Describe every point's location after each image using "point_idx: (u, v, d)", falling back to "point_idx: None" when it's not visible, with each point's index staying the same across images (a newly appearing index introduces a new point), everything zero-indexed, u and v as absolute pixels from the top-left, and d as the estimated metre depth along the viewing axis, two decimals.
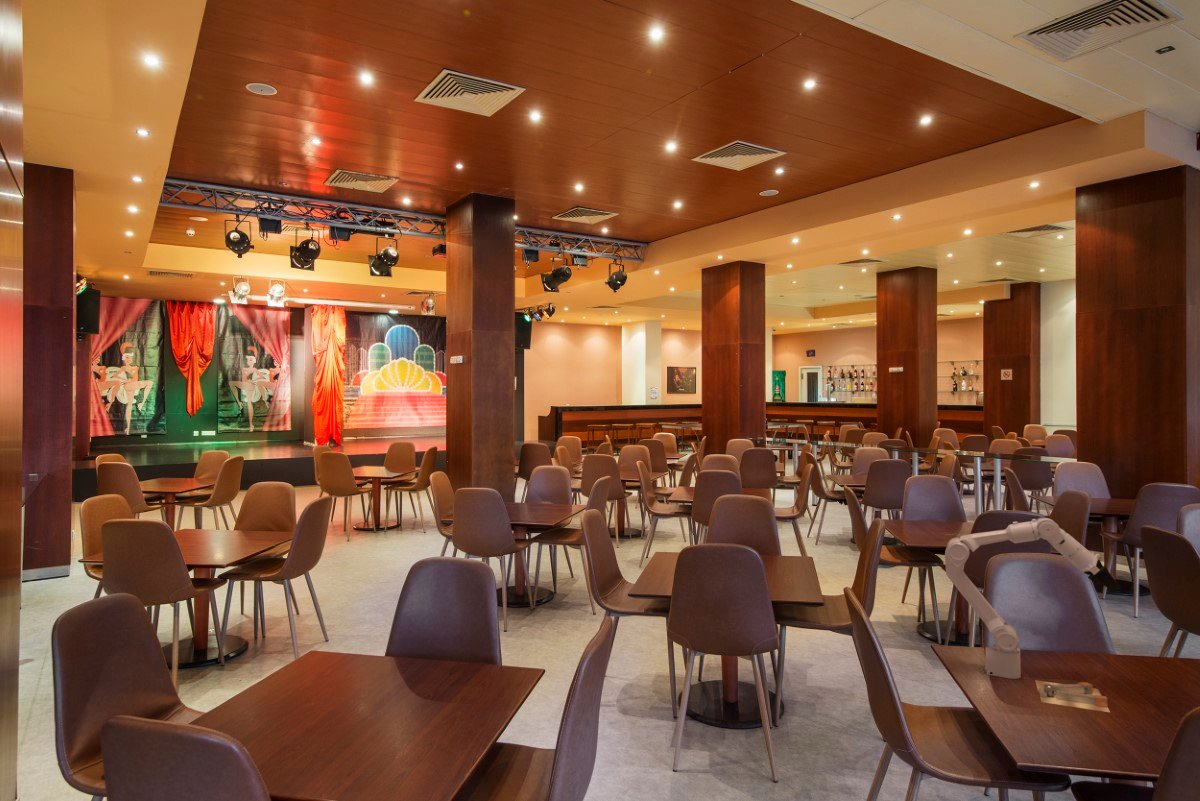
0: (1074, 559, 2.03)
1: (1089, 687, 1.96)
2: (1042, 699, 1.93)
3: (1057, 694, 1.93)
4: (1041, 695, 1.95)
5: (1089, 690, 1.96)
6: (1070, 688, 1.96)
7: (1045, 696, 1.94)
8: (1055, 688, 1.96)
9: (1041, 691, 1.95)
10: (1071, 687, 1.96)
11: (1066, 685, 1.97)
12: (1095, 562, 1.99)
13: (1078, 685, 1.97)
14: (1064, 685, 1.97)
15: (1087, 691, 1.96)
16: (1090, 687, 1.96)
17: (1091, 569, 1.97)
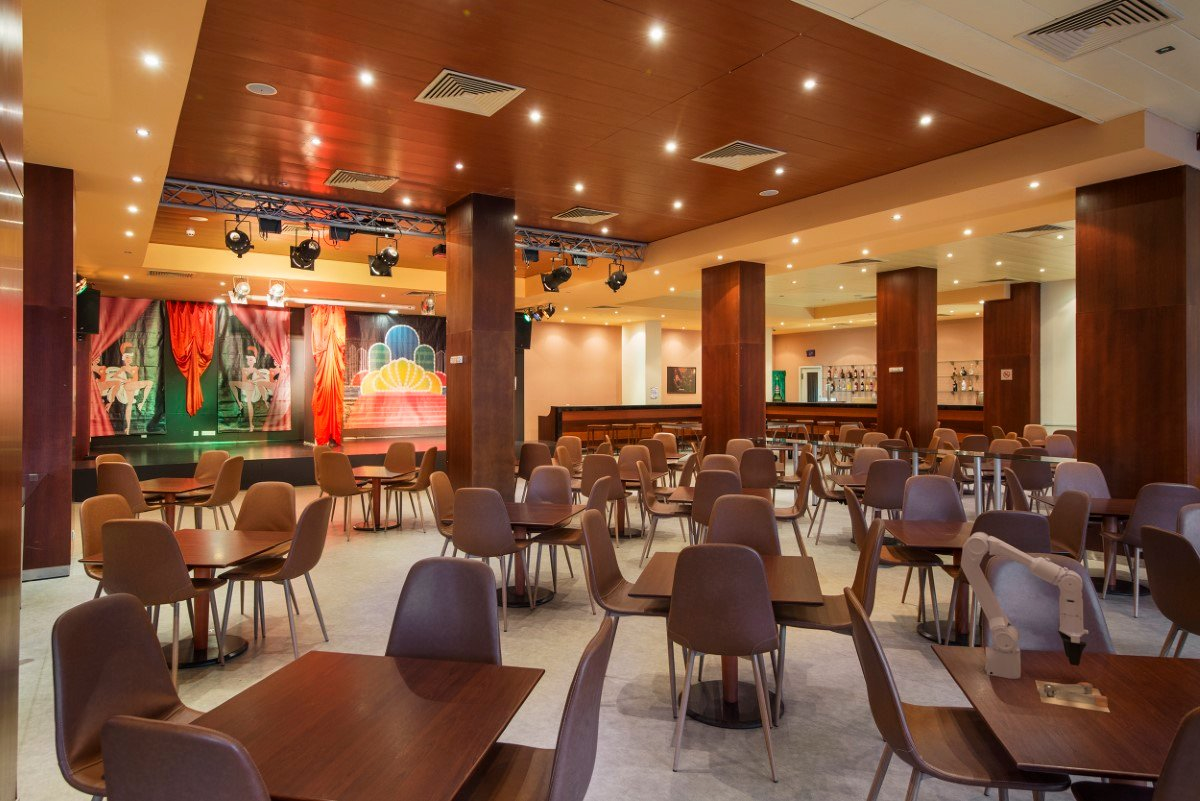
0: (1066, 619, 2.02)
1: (1089, 687, 1.96)
2: (1042, 699, 1.93)
3: (1057, 694, 1.93)
4: (1041, 695, 1.95)
5: (1089, 690, 1.96)
6: (1070, 688, 1.96)
7: (1045, 696, 1.94)
8: (1055, 688, 1.96)
9: (1041, 691, 1.95)
10: (1071, 687, 1.96)
11: (1066, 685, 1.97)
12: (1081, 635, 1.98)
13: (1078, 685, 1.97)
14: (1064, 685, 1.97)
15: (1087, 691, 1.96)
16: (1090, 687, 1.96)
17: (1073, 637, 1.97)
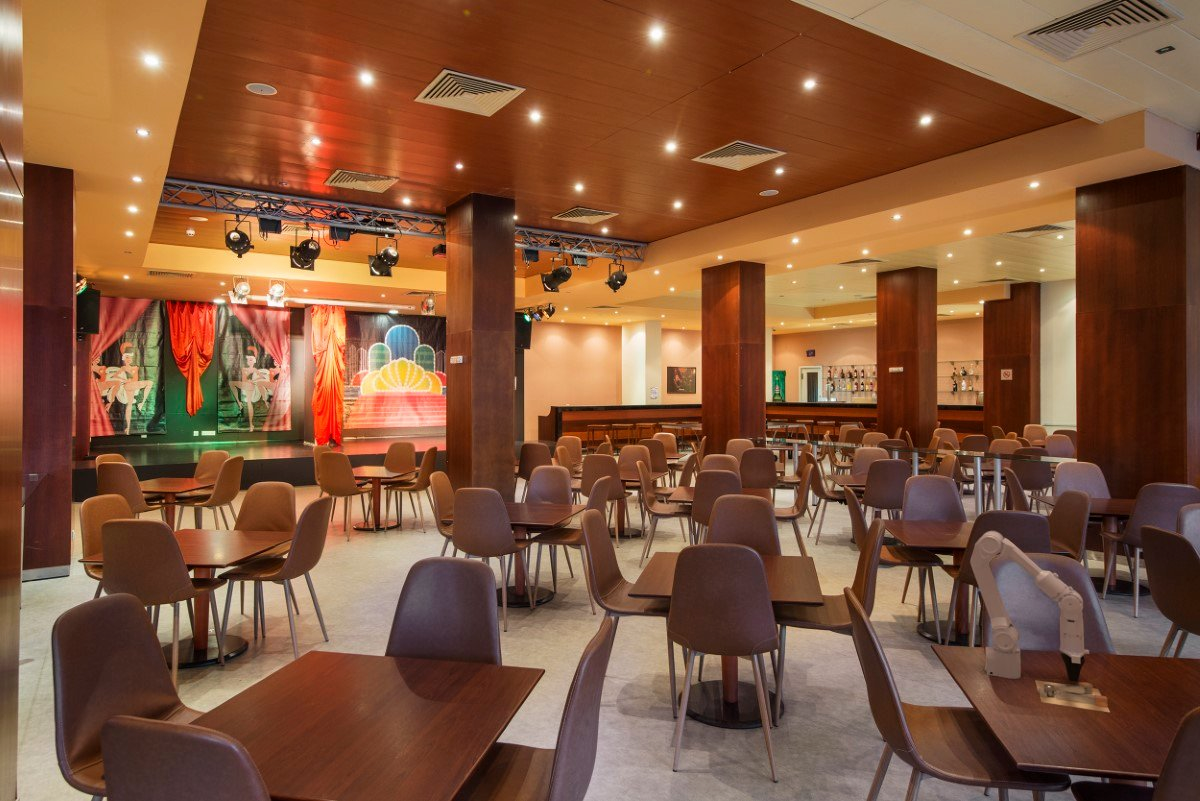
0: (1067, 639, 2.01)
1: (1089, 687, 1.96)
2: (1042, 699, 1.93)
3: (1057, 694, 1.93)
4: (1041, 695, 1.95)
5: (1089, 690, 1.96)
6: (1070, 688, 1.96)
7: (1045, 696, 1.94)
8: (1055, 688, 1.96)
9: (1041, 691, 1.95)
10: (1071, 687, 1.96)
11: (1066, 685, 1.97)
12: (1081, 655, 1.98)
13: (1078, 685, 1.97)
14: (1064, 685, 1.97)
15: (1087, 691, 1.96)
16: (1090, 687, 1.96)
17: (1074, 657, 1.96)
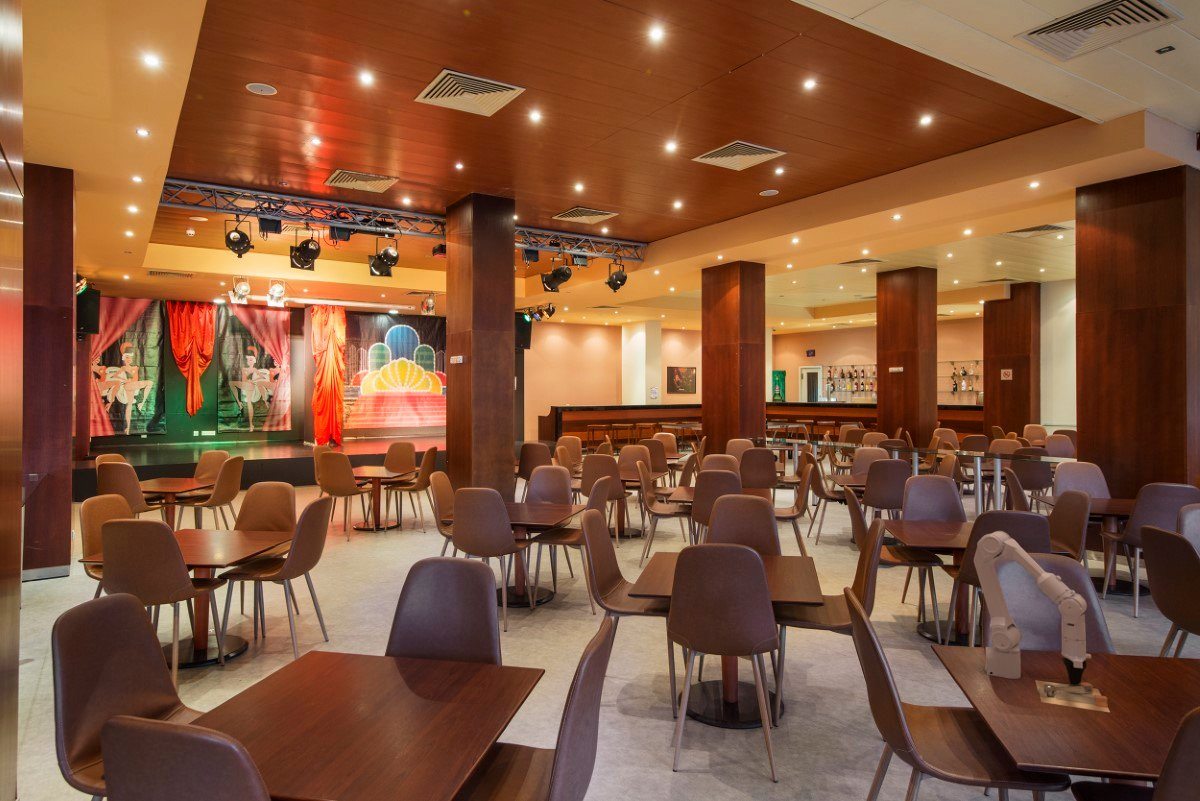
0: (1068, 643, 1.98)
1: (1089, 687, 1.96)
2: (1042, 699, 1.93)
3: (1057, 694, 1.93)
4: (1041, 695, 1.95)
5: (1090, 690, 1.96)
6: (1070, 688, 1.96)
7: (1045, 696, 1.94)
8: (1055, 688, 1.96)
9: (1041, 691, 1.95)
10: (1071, 687, 1.96)
11: (1066, 685, 1.97)
12: (1083, 659, 1.95)
13: (1078, 685, 1.97)
14: (1064, 685, 1.97)
15: (1087, 691, 1.96)
16: (1090, 687, 1.96)
17: (1076, 662, 1.93)
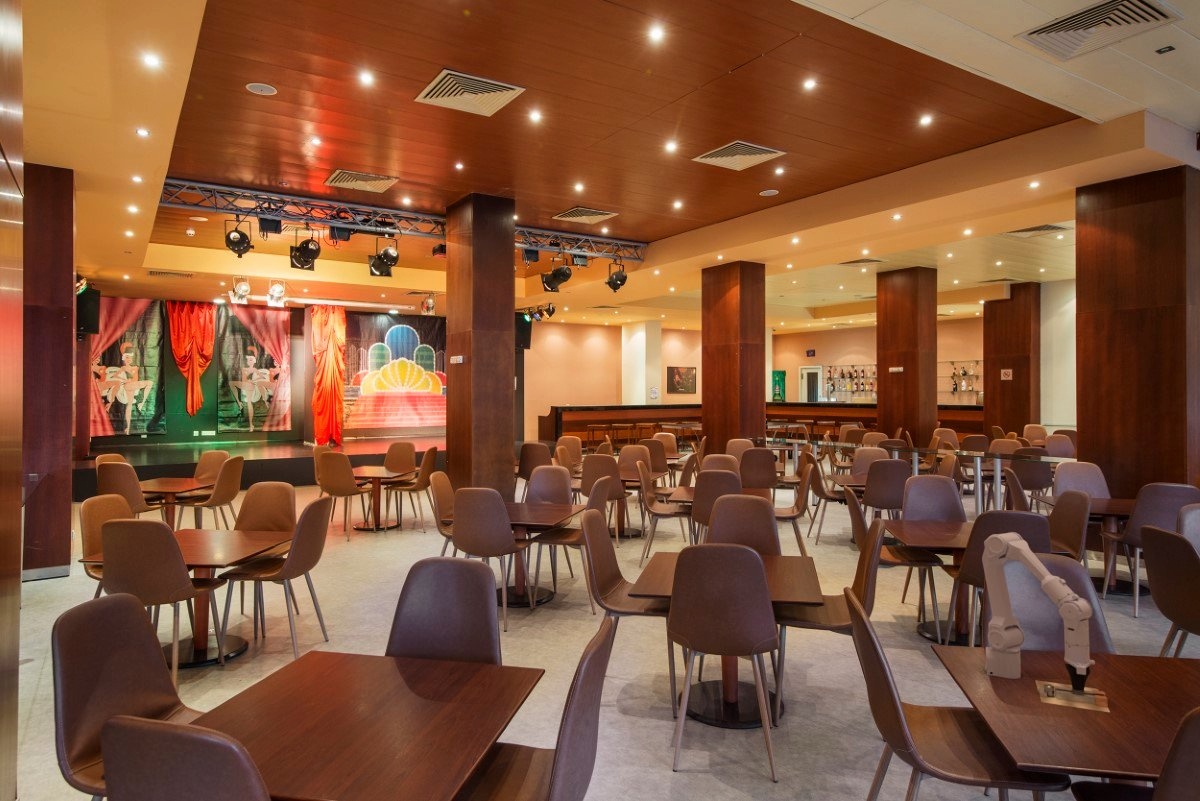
0: (1071, 649, 1.93)
1: None
2: (1042, 699, 1.93)
3: (1057, 694, 1.93)
4: (1041, 695, 1.95)
5: None
6: (1076, 692, 1.93)
7: (1045, 696, 1.94)
8: (1057, 689, 1.95)
9: (1041, 691, 1.95)
10: (1077, 692, 1.93)
11: (1073, 689, 1.94)
12: (1087, 666, 1.90)
13: (1088, 692, 1.92)
14: (1071, 689, 1.94)
15: None
16: None
17: (1079, 668, 1.88)
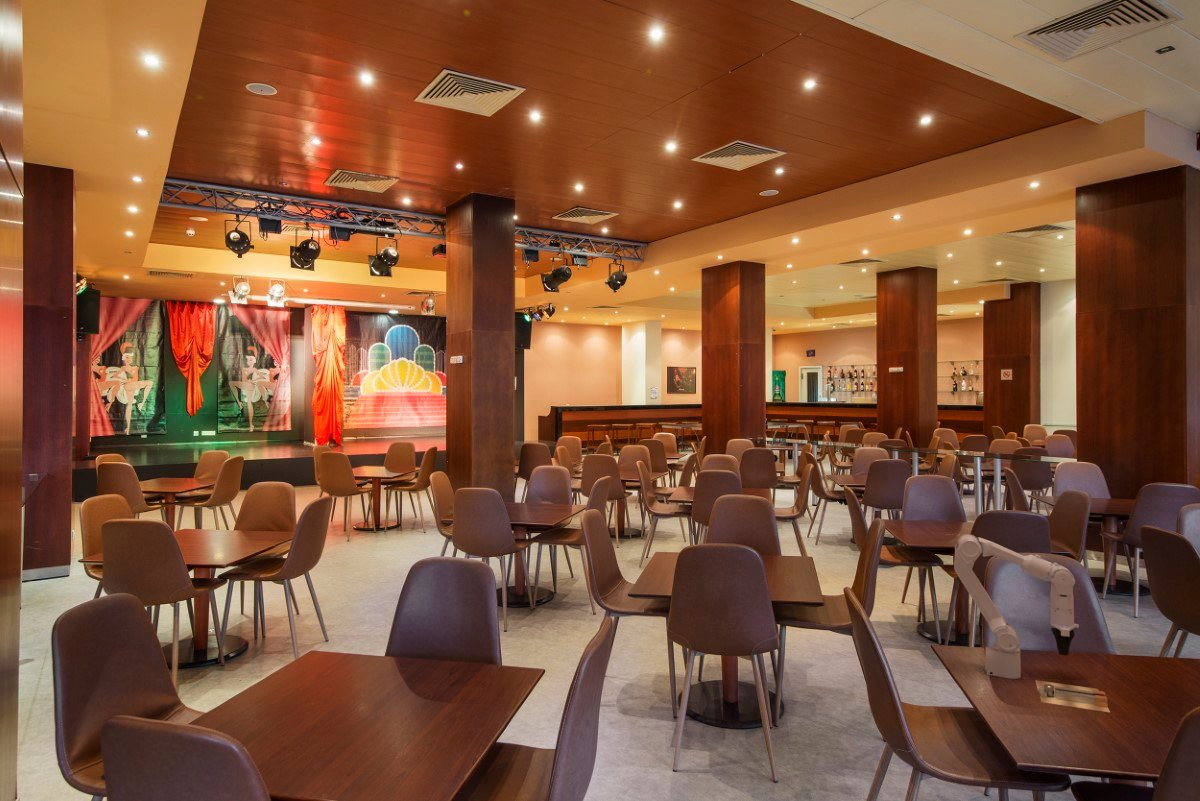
0: (1057, 613, 2.05)
1: None
2: (1042, 699, 1.93)
3: (1057, 694, 1.93)
4: (1041, 695, 1.95)
5: None
6: (1076, 692, 1.93)
7: (1045, 696, 1.94)
8: (1057, 689, 1.95)
9: (1041, 691, 1.95)
10: (1077, 692, 1.93)
11: (1073, 689, 1.94)
12: (1071, 628, 2.02)
13: (1088, 692, 1.92)
14: (1071, 689, 1.94)
15: None
16: None
17: (1063, 630, 2.00)
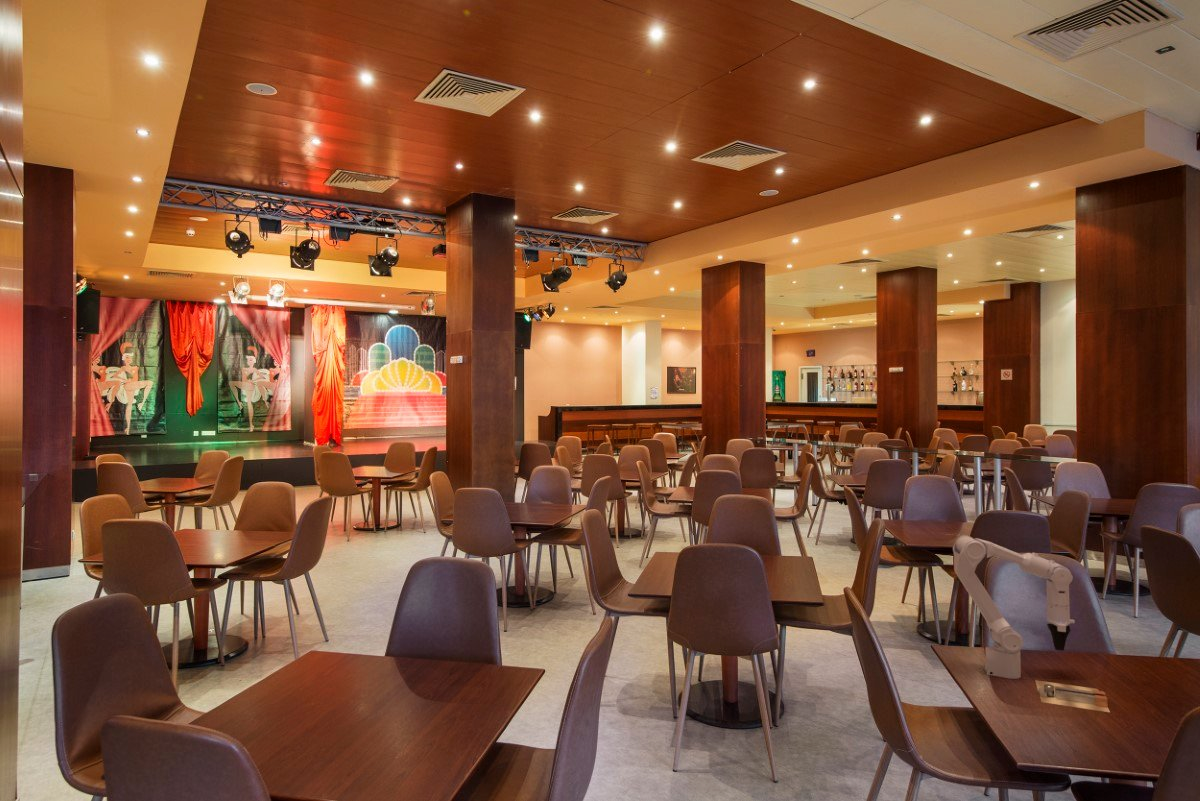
0: (1053, 609, 2.08)
1: None
2: (1042, 699, 1.93)
3: (1057, 694, 1.93)
4: (1041, 695, 1.95)
5: None
6: (1076, 692, 1.93)
7: (1045, 696, 1.94)
8: (1057, 689, 1.95)
9: (1041, 691, 1.95)
10: (1077, 692, 1.93)
11: (1073, 689, 1.94)
12: (1067, 624, 2.05)
13: (1088, 692, 1.92)
14: (1071, 689, 1.94)
15: None
16: None
17: (1060, 626, 2.04)
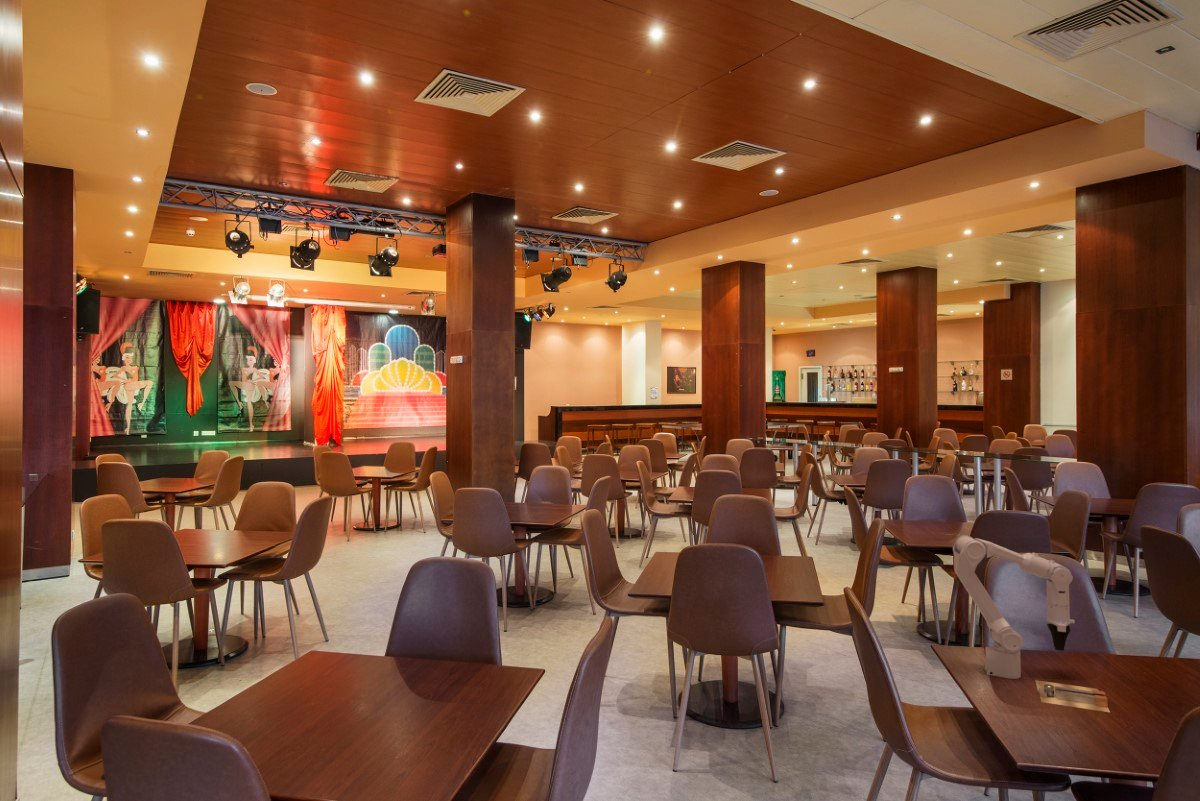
0: (1053, 609, 2.08)
1: None
2: (1042, 699, 1.93)
3: (1057, 694, 1.93)
4: (1041, 695, 1.95)
5: None
6: (1076, 692, 1.93)
7: (1045, 696, 1.94)
8: (1057, 689, 1.95)
9: (1041, 691, 1.95)
10: (1077, 692, 1.93)
11: (1073, 689, 1.94)
12: (1067, 624, 2.05)
13: (1088, 692, 1.92)
14: (1071, 689, 1.94)
15: None
16: None
17: (1060, 626, 2.04)
